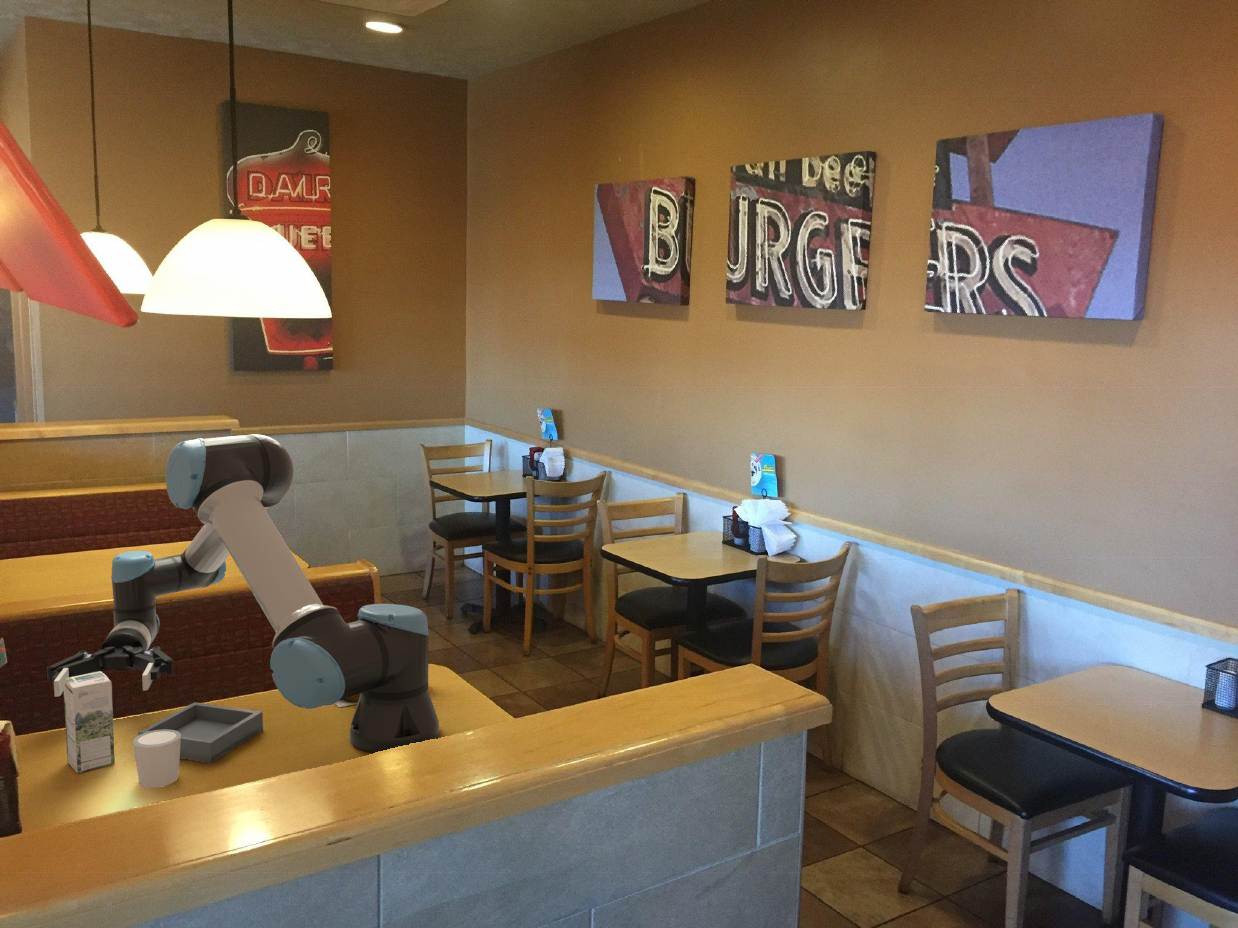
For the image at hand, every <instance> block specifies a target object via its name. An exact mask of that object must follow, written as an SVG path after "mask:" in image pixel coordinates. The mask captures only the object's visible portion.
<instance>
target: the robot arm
mask: <svg viewBox="0 0 1238 928" xmlns="http://www.w3.org/2000/svg"><path fill="white" fill-rule="evenodd" d="M293 479H294V464H293V460H292V457H291V455H290V453H289V452H288V450H287V449H286V448H285V446H284V445H282V443H281V442H279V441H278V440H276V439H274V438H272V437H270V436H267V435H263V434H256V433H254V434H245V435H235V436H234V435H233V436H232V435H231V436H222V437H219V436H218V437H211V438H210V437H208V438H201V437H198V438H196V439H189V440H183V441H181V442H179V443H177V444H176V445H175V446H174V447H173V448H172V449H171V451H170V453H169V455H168V457H167V461H166V466H165V486H166V487H165V488H166V492H167V495H168V497H169V500H170V502H171V503H172V504H173V506H175V508H178V509H183V510H188V509H190V508H191V509H192V510H193V511H194V513H195V514H196V517H197V518H198V520H199V522H200V523H202V524H204V525H202V526H201V529H200V530H199V531H198V532H197V534H196V535H195V537H193V539H192V540H191V542H190V543H189V544H188V546H187V547H186V548H185V550H184V551H183V552H181V553H180V554H176V555H170V556H165V557H158V558H154V554H153V553H152V552H149V551H145V550H134V551H131V550H129V551H124V552H121V553H118V554H116V555H114V557H113V558H112V562H111V576H110V579H111V586H112V598H113V609H112V610H113V628H112V630H110V632H109V633H108V634H107V637H106V638H105V639H104V641H103V642H102V644H101V646H100V649H99V650H97V651H96V652H94V653H91V654H89V653H88V652H87V650H86V649H85V650H84V649H82V650H79V651H78V652H77V653H75V654H74V655H72V656H69V657H67V658H64V659H62V660H60V661H59V662H55V663H54V664H51V665H49V666H47V667H46V676H47V679H46V680H47V682H49V683H51V682H52V686H53V690H54V691H53V692H54V698H55V697H60V696H61V695H62V694H63V693H64V687H63V679H64V678H69V677H74V676H79V675H84V674H89V673H94V672H99V671H101V672H102V673H103V672H105V671H107V670H109V671H111V670H112V671H116V672H128V671H137V670H139V671H141V672H143V673H142V676H141V678H142V691H143V692H144V691H148V690H149V688H150V687H151V685H152V682H153V681H155V680H158V679H159V678H160V676H162V674H163V673H164V674H166V675H172V674H173V673H174V663H173V662H174V660H173V658H171V657H170V656H168V655H167V654H166V653H165V652H163V651H162V650H161V647H160V646H157V645H156V646H152V648H150V646H151V644H152V643H153V642H154V640H155V638H156V637H157V635H158V634H159V629H160V618H159V615H158V614H157V613H156V600H157V599H156V598H157V597H160V596H166V595H171V594H175V593H179V592H186V591H190V590H194V589H199V588H201V589H202V588H208V587H210V586H211V585H212V586H213V585H215V584H219V583H221V582H222V581H223V580H224V578H225V576H226V573H225V572H227V562H226V560H227V559H228V558H229V557H230V556H231V558H232V559H233V561H234V563H235V565H236V566H237V568H238V569H239V572H240V573H241V575H242V577H243V579H244V580H245V582H246V583H247V585H248V587H249V589H250V591H251V593H252V594H253V596H254V597H255V600H256V601H257V603H258V605H259V606H260V607H261V610H262V612H263V613H264V615H265V616H266V618H267V620H268V622H269V623H270V625H271V626H272V628H273V630H274V632H275V635H274V637H273V640H272V643H271V645H272V648H273V651H272V653H271V654H270V655H271V657H270V662H269V663H270V666H269V667H270V670H271V671H272V672H273V673H271V676H272V677H271V678H272V680H273V682H274V684H275V687H276V688H277V690H278V692H280V694H281V695H282V696H283V698H284V699H285V700H287V701H288V702H289V703H290V704H292V705H294V707H298V708H302V709H305V710H311V709H313V710H314V709H316V708H320V707H327V706H332V705H334V704H335V703H336V702H338V701H340V700H343V699H345V698H348V697H351V696H354V695H356V694H359V693H360V697H359V700H358V704H356V707H355V710H354V713H353V715H352V716H353V717H352V718H351V719H352V720H351V722H350V723H351V724H350V727H349V728H350V729H349V734H350V735H349V737H350V738H349V740H350V742H351V744H352V745H353V746H355V747H356V748H357V749H360V750H362V751H366V752H370V753H375V752H378V751H383V750H387V749H390V748H395V747H398V746H403V745H409V744H410V743H416V742H422V741H425V740H430V739H435V738H436V739H438V737H439V734H440V730H439V729H440V725H439V723H440V722H439V718H438V715H437V712H436V708H435V706H434V704H433V703H434V702H433V700H432V698H431V695H430V692H429V636H430V632H429V629H428V625H429V624H428V617H427V615H426V613H425V612H424V611H423V610H422V609H419V608H417V607H413V606H409V605H404V604H397V603H396V604H395V603H374V604H373V603H372V604H366V605H363V606H362V607H360V608H359V610H358V613H357V617H358V620H355V621H352V622H351V621H350V622H349V623H347V622H346V621H345V620H344V618H343V617H342V614H341V613H340V611H339V610H338V608H337V607H334V606H331V605H326V604H325V605H324V603H323V601H321V599H320V597H319V595H318V594H317V592H316V591H315V589H314V587H313V586H312V584H311V582H310V580H309V579H308V578H307V576H306V574H305V573H304V571H303V569H302V567H301V566H300V565H299V562H298V561H297V559H296V558H295V556H294V554H293V553H292V550H291V549H290V548H289V546H288V544H287V543H286V540H284V538H283V536H282V535H281V533H280V531H279V530H278V528H277V527H276V524H275V523H274V522H273V519H272V518H271V516H270V515H269V513H268V512H267V509H270V508H273V507H276V505H278V504H279V503H280V502H281V501H282V500H283V498H284V497H285V495H286V494H287V493H288V492H289V490H290V488H291V485H292V483H293ZM149 648H150V649H149Z"/></svg>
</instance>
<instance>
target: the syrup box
mask: <svg viewBox="0 0 1238 928" xmlns="http://www.w3.org/2000/svg"><path fill="white" fill-rule="evenodd" d="M112 683H113V682H112V680H110V679H109V677H108V676H107V675H106V674H105V673H103V671H102V672H101V671H99V672H91V673H88V674H84V675H79V676H74V677H69V678H64V679H63V687H64V691H63V703H64V718H65V719H64V720H65V723H64V724H65V736H66V737H65V738H66V759H67V763H68V765H70V766H71V768H72V769H73V771H75V772H76V773H77V774H82V773H86V772H90V771H94V770H97V769H101V768H105V767H109V766H113V765H114V764H115V763H116V759H115V755H116V754H115V736H114V735H115V734H114V731H115V730H114V709H113V687H112V686H113V684H112Z"/></svg>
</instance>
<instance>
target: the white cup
mask: <svg viewBox="0 0 1238 928" xmlns="http://www.w3.org/2000/svg"><path fill="white" fill-rule="evenodd" d="M180 743H181V734H180V733H179V732H178V731H175V730H167V729H163V730H154V731H150V732H146V733H143V734H141V735H139V736H138V735H137V736H136V737H135V738H133V740H132V747H133V753H134V759H135V764H136V770H137V771H136V772H137V778H138V784H139V785H140V786H141V787H143V788H147V789H157V788H162V787H161V786H163V787H166V786H165V785H167V786H169V784H170V783H172V784H174V783H175V782H176V781H177V778H178V779H179V774H180V773H179V772H180ZM175 780H176V781H175ZM174 781H175V782H174ZM173 782H174V783H173ZM170 785H171V784H170Z"/></svg>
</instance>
